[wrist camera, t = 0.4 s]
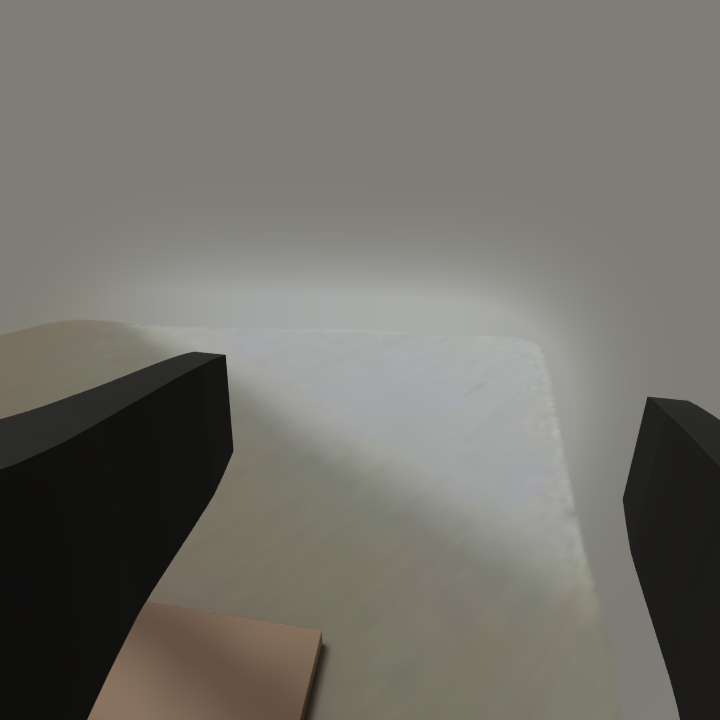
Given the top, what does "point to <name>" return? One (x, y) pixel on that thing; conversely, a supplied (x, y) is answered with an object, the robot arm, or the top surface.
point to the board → (209, 668)
